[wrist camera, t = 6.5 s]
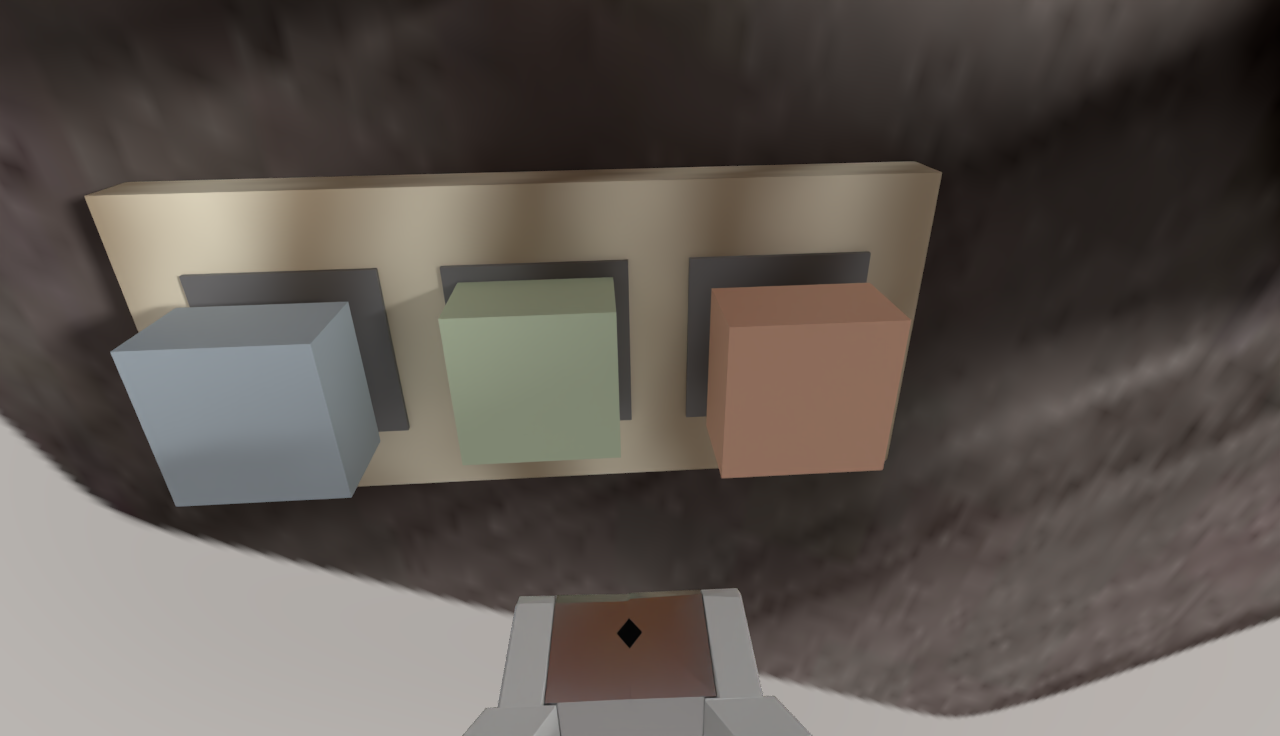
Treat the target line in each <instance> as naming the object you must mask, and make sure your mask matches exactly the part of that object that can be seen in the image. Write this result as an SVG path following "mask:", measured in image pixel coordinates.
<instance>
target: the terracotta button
mask: <svg viewBox="0 0 1280 736" xmlns="http://www.w3.org/2000/svg"><path fill="white" fill-rule="evenodd" d="M910 325H911V319H909V318H908V317H907V316H906V315H905V314H904V313H903V312H902V311H901V310H900V309H898V308H897V307H896V306H895V305H894V304H893V303H892V302H891V301H890V300H889V299H887V298H886V297H885V296H884V295H883V294H882V293H881V292H880V291H879V290H877V289H876V288H875V287H874V286H873V285H872V284H871V283H846V284H818V285H791V286H763V287H736V288H712V289H711V315H710V341H709V367H708V393H707V418H706V427H707V430H708V433H709V437H710V440H711V444H712V447H713V451H714V454H715V457H716V461H717V464H718V468H719V471H720V475H721V478H739V477H759V476H778V475H797V474H817V473H836V472H855V471H875V470H883V466H884V461H885V456H886V450H887V445H888V440H889V435H890V430H891V424H892V419H893V414H894V409H895V403H896V398H897V393H898V388H899V382H900V377H901V372H902V367H903V361H904V356H905V351H906V346H907V340H908V335H909V330H910Z"/></svg>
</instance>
